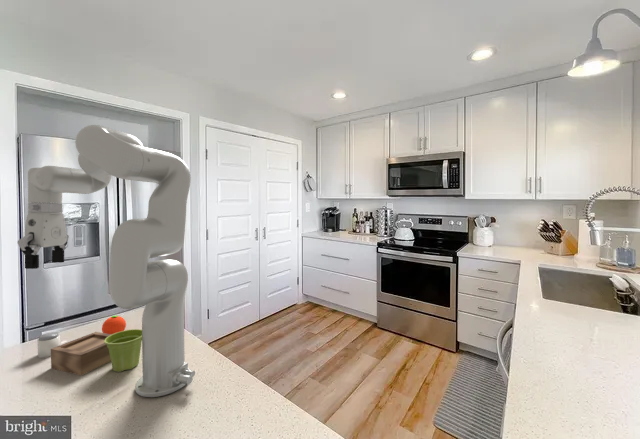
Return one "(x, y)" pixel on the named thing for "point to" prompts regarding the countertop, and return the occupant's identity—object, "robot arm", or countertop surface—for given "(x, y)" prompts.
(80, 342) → the tray
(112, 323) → the clementine
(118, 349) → the plant pot
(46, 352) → the white rounded cylinder
